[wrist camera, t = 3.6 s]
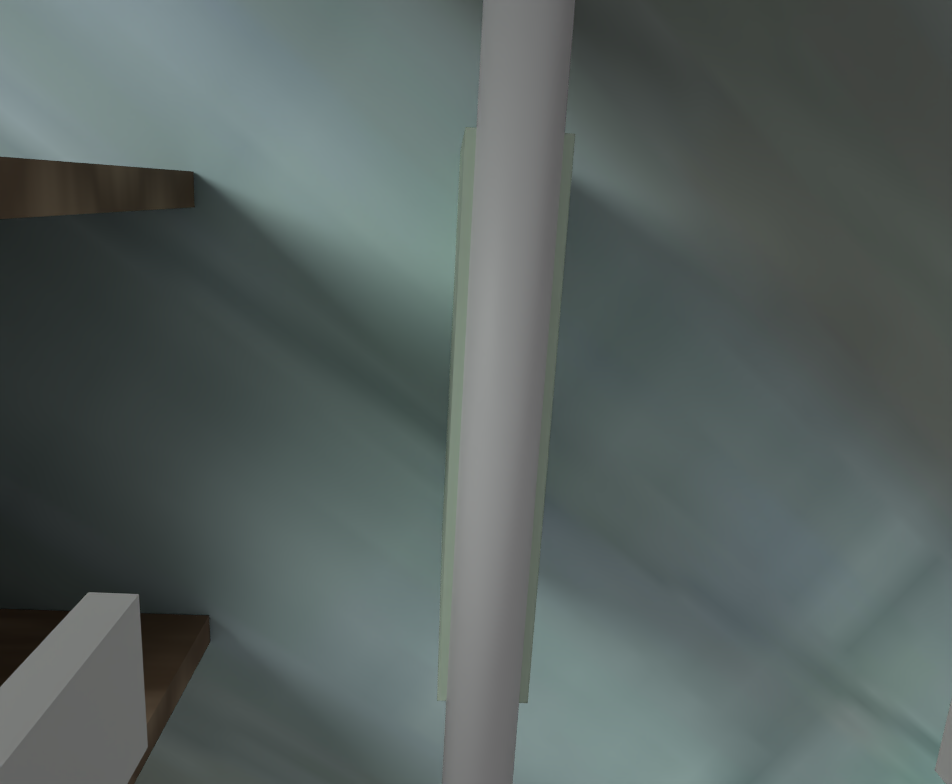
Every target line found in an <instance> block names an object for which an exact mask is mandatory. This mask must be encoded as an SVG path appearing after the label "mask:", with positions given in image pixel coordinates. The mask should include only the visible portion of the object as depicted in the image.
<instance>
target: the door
mask: <svg viewBox="0 0 952 784" xmlns="http://www.w3.org/2000/svg"><path fill="white" fill-rule="evenodd" d="M574 10H575V0H483V15H482V34H481V53H480V72H479V91H478V110H477V128H470V127H465V132H464V137H463V142H462V146H461V151H460V171H459V192H458V213H457V234H456V255H455V275H454V296H453V317H452V338H451V359H450V379H449V400H448V421H447V442H446V463H445V483H444V504H443V525H442V555H441V589H440V624H439V658H438V693H437V701H446V717H445V736H444V755H443V774H442V784H512V783H513V770H514V758H515V745H516V733H517V721H518V708H519V703H528V692H529V680H530V668H531V656H532V644H533V632H534V620H535V608H536V596H537V584H538V572H539V560H540V548H541V536H542V524H543V512H544V500H545V488H546V476H547V464H548V452H549V441H550V429H551V417H552V405H553V393H554V381H555V369H556V357H557V345H558V333H559V321H560V309H561V297H562V285H563V273H564V261H565V249H566V237H567V225H568V213H569V201H570V189H571V177H572V165H573V153H574V141H575V134H568V133H565V122H566V110H567V97H568V85H569V72H570V60H571V47H572V35H573V22H574Z"/></svg>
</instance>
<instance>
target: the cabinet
mask: <svg viewBox="0 0 952 784" xmlns="http://www.w3.org/2000/svg"><path fill="white" fill-rule="evenodd" d="M191 207H195V205H194V177H193V172H191V171H178V170H165V169H152V168H139V167H126V166H113V165H101V164H88V163H75V162H62V161H49V160H36V159H23V158H10V157H0V219H10V218H26V217H43V216H59V215H76V214H92V213H109V212H125V211H141V210H158V209H174V208H191ZM69 612H70V611H55V610H24V609H0V687H1V686H2V685H3V683H4V682H5V681H6V680H7V679H8V678H9V677H10V676H11V675H12V674H13V673H14V672H15V671H16V669H17V668H18V667H19V666H20V665H21V664H22V663H23V662H24V661H25V660H26V659H27V658H28V657H29V655H30V654H31V653H32V652H33V651H34V650H35V649H36V648H37V647H38V646H39V645H40V644H41V643H42V641H43V640H44V639H45V638H46V637H47V636H48V635H49V634H50V633H51V632H52V631H53V630H54V629H55V628H56V626H57V625H58V624H59V623H60V622H61V621H62V620H63V619H64V618H65V617H66V616H67V615H68V614H69ZM140 621H141V638H142V655H143V673H144V690H145V707H146V724H147V741H148V748H147V750H146V751H145V753H144V755H143V757H142V758H141V760H140V762H139V764H138V766H137V767H136V769H135V771H134V773H133V775H132V776H131V778H130V780H129V782H128V784H134V783H135V781H136V779H137V777H138V775H139V774H140V772H141V770H142V768H143V766H144V764H145V762H146V761H147V759H148V757H149V755H150V753H151V751H152V749H153V747H154V746H155V744H156V742H157V740H158V738H159V736H160V734H161V733H162V731H163V729H164V727H165V725H166V723H167V721H168V719H169V718H170V716H171V714H172V712H173V710H174V708H175V706H176V705H177V703H178V701H179V699H180V697H181V695H182V693H183V692H184V690H185V688H186V686H187V684H188V682H189V680H190V678H191V677H192V675H193V673H194V671H195V669H196V667H197V665H198V664H199V662H200V660H201V658H202V656H203V654H204V652H205V650H206V649H207V647H208V645H209V643H210V625H209V615H178V614H147V613H140Z"/></svg>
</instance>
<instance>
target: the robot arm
mask: <svg viewBox="0 0 952 784" xmlns="http://www.w3.org/2000/svg"><path fill="white" fill-rule="evenodd" d="M147 748H148V741H147V724H146V707H145V690H144V673H143V655H142V638H141V621H140V604H139V594H123V593H96V592H88V593H87V594H86V595H85V596H84V597H83V598H82V600H81V601H80V602H79V603H78V604H77V605H76V606H75V607H74V608H73V609H72V610H71V611H70V612H69V614H68V615H67V616H66V617H65V618H64V619H63V620H62V621H61V622H60V623H59V624H58V625H57V626H56V628H55V629H54V630H53V631H52V632H51V633H50V634H49V635H48V636H47V637H46V638H45V639H44V640H43V641H42V643H41V644H40V645H39V646H38V647H37V648H36V649H35V650H34V651H33V652H32V653H31V654H30V655H29V657H28V658H27V659H26V660H25V661H24V662H23V663H22V664H21V665H20V666H19V667H18V668H17V669H16V671H15V672H14V673H13V674H12V675H11V676H10V677H9V678H8V679H7V680H6V681H5V682H4V683H3V685H2V686H1V687H0V784H128V782H129V780H130V778H131V776H132V775H133V773H134V771H135V769H136V767H137V766H138V764H139V762H140V760H141V758H142V757H143V755H144V753H145V751H146V750H147ZM935 771H936V772H937V773H938V775H939V776H940V777H941V778H942V779H943V781H944V782H945V783H946V784H952V700H951V704H950V708H949V712H948V717H947V721H946V725H945V729H944V733H943V738H942V742H941V746H940V750H939V754H938V759H937V763H936V767H935Z"/></svg>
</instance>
